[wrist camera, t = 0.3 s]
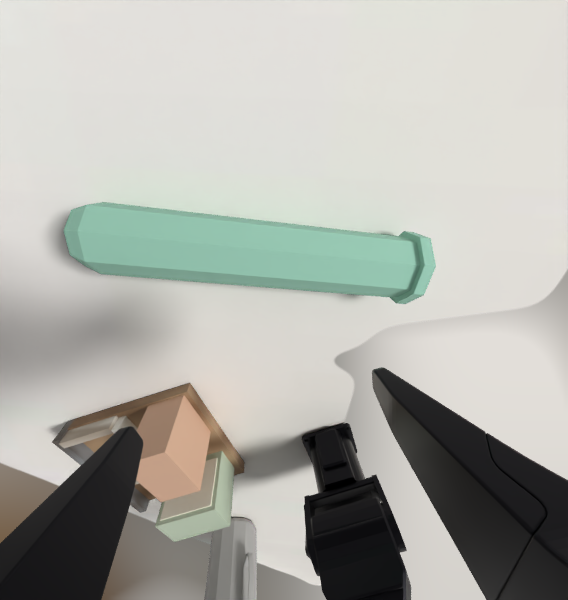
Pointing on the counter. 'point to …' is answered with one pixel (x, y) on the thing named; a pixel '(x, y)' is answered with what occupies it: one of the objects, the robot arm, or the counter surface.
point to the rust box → (172, 449)
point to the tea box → (201, 503)
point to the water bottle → (233, 562)
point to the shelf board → (102, 425)
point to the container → (247, 252)
